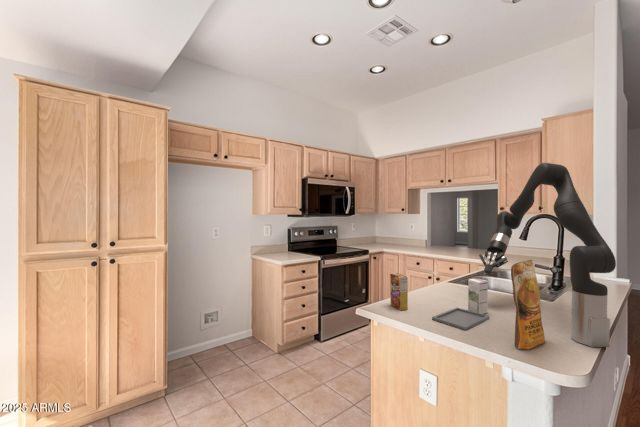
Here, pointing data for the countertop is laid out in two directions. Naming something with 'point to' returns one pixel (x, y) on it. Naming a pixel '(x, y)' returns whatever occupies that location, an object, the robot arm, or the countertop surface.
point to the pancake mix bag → (527, 306)
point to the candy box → (399, 291)
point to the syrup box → (478, 295)
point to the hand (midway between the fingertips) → (487, 272)
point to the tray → (460, 318)
